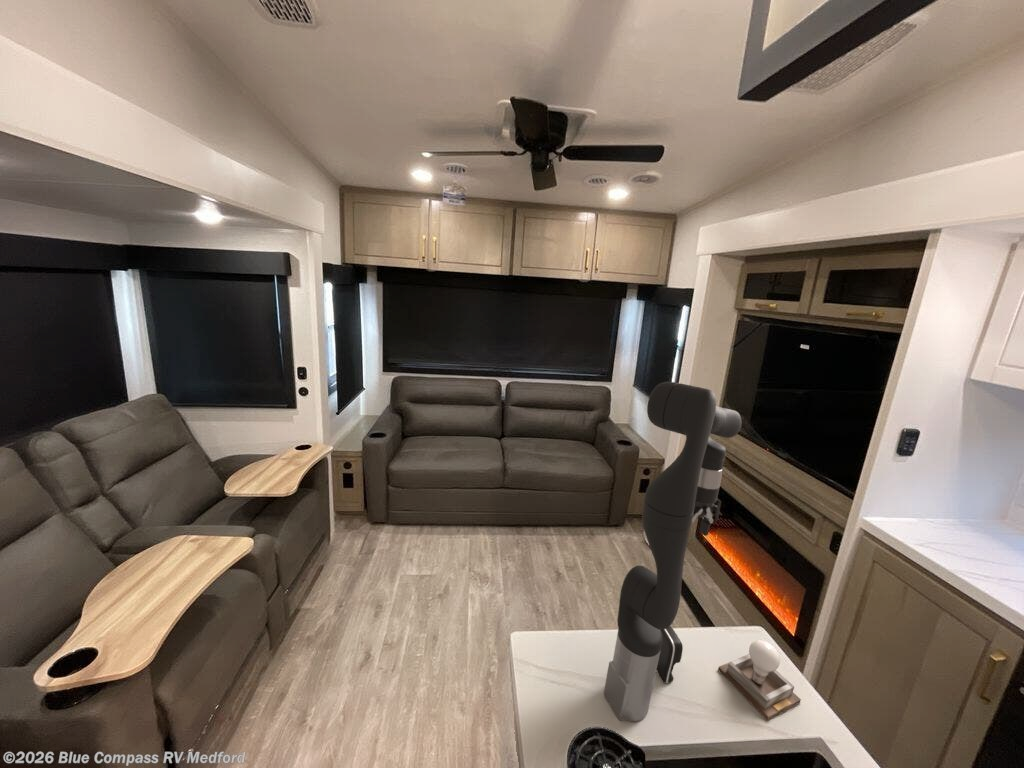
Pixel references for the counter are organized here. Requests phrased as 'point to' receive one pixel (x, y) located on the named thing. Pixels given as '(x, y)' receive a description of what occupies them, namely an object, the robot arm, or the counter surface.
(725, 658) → the counter surface
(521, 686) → the counter surface
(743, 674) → the socket board
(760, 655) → the lightbulb
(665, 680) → the battery charger
